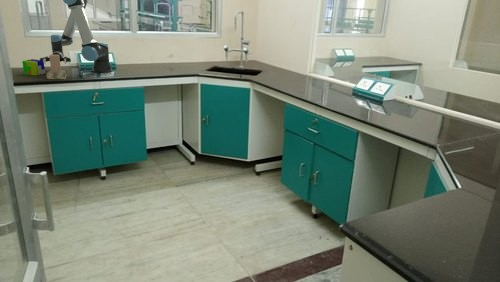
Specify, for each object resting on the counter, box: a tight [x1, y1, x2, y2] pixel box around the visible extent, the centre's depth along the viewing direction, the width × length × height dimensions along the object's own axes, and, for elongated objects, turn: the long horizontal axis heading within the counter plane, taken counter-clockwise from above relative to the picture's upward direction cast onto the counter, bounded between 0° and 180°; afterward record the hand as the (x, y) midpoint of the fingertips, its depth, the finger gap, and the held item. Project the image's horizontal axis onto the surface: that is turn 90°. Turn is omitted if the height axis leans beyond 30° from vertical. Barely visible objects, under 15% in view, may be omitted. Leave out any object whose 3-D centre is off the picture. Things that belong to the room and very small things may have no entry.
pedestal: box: [45, 70, 67, 80], centre depth 278 cm, size 12×12×5 cm
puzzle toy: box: [21, 58, 46, 76], centre depth 286 cm, size 10×10×10 cm
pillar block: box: [48, 54, 62, 73], centre depth 275 cm, size 6×6×12 cm
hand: (54, 61), depth 272 cm, fingers open, 13 cm apart
